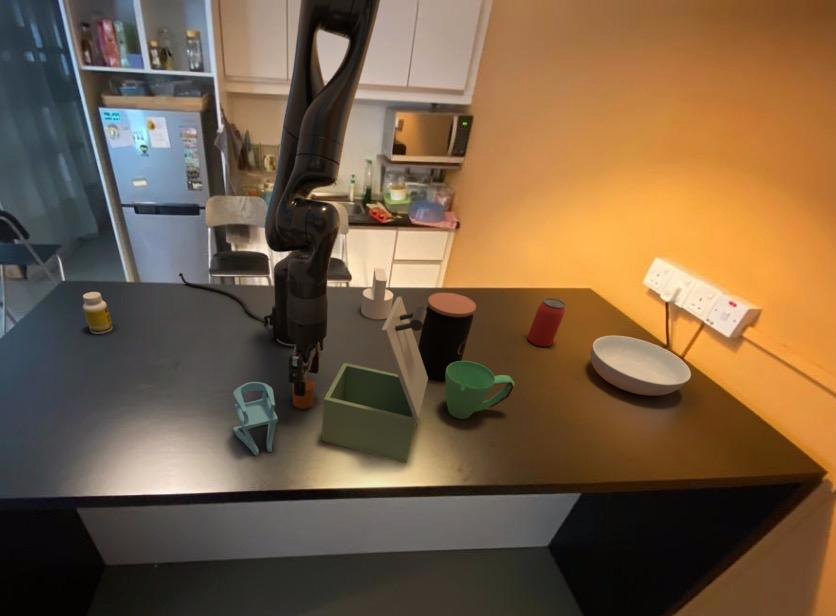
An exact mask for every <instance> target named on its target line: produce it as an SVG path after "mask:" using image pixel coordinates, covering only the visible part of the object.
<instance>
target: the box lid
mask: <svg viewBox="0 0 836 616" xmlns="http://www.w3.org/2000/svg"><path fill="white" fill-rule="evenodd" d="M426 309H427V308H426V307H424V306H417V307H416V308H415V309H414V311H413V312H408V313H407V310H406V307H405V304H404V301H403V297H402V296H397V297H396V299H395V301H394V303H393V304H392V307H391V311H390V313H389V316H388V318H386V320H385V322H384V324H383V326H382V328H381V333H382V335H383V338H384V340H385V344H386V346H387V350H388V352H389V354H390V358H391V360H392V364H393V365H394V366H393V367H394V368H395V371H396V374H398V376H399V379H400V382H401V385H402V387H403V390H404V393H405V395H406V398H407V401H408V404H409V406H410V409H411V412H412V414H413V417H414V419H417V420H418V419H419V417H420V414H421V410H422V406H423V402H424V398H425V393H426V389H427V386H428V381H429V377H428V376H427V373H426V370H425V367H424V364H423V361H422V358H421V355H420V352H419V349H418V346H419V345H418V343H417V341H416V340H417V339H416V337H415V334H414V332H413V331H415V332H418V331H422V327H423V323H424V320H425V317H426V314H427V311H426ZM410 319H411V320H410Z"/></svg>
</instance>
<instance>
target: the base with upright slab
mask: <svg viewBox="0 0 836 616" xmlns="http://www.w3.org/2000/svg"><path fill="white" fill-rule="evenodd" d="M372 277H373V278H372V286H371V287H368V288H365V289H364V290H363V291H362V295H361V296H362V297H361V306H360V313H361V314H362V315H363V316H364V317H365V318H368V319H371V320H385V319H387V318H388V316H389V313H390V311H391V309H392V307H393V299H394V293H393V292H392V291H390V290H389V289H387V283H388V279H387V274H386V270H385V268H381V267H379V268H378V267H377V268H374V269H373V276H372Z"/></svg>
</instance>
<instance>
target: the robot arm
mask: <svg viewBox="0 0 836 616" xmlns="http://www.w3.org/2000/svg"><path fill="white" fill-rule="evenodd" d="M380 3H381V0H300V4H299V5H300V6H299V15H298V22H297V31H296V32H297V33H296V41H295V49H294V50H295V52H294V61H293V68H292V74H291V80H290V87H289V91H288V97H287V103H286V107H285V113H284V119H283V123H282V130H281V131H282V132H281V137H280V145H279V154H278V161H277V167H276V172H275V178H274V182H273V187H272V191H271V195H270V199H269V201H268V206H267V210H266V215H265V219H264V237H265V241H266V244H267V247H269V249H270V250H271V251H273V252H276V253H287V252H290V253H289V254H288V255H286V256H285V257H283V258H282V259H281V260H278V261H277V263H275V264H274V267H273V284H274V287H273V288H274V305H273V306H272V307H271V313H270V314H267V315H265V316H264V317H263V319H262V318H260V317H259V316H257V315H255V314H254V313H252V312H251V311H250V310H249V308H248V307H247V305H246V303H245V302H244V301H243V300H241V299H240V297H238V296H236V295H234V294H233V293H230V292H228V291H226V290H223V289H221V288H217V287H216V288H215V287H211V286H208V285H203V284H196V283H191V282H188V281H187V280H186V278H185V277H184V273H183V272H179V274H178V277H180V279H181V281H182V282H183V283H184V284H185V285H187V286H189V287H193V288H194V287H195V288H200V289H205V290H210V291H213V292H217V293H221V294H224V295H226V296H229V297H232V298H234V299H235V300H236V301H237V302H238V303H240V304H241V305H242V308H243V309H244V311H245V313H246V314H248V315H249V316H251V317H252V318H253V319H255V320H256V321H259V322H261V323H263V324H266V325H267V324H269V326H272V340H273V341H275V342H276V343H278V344H280V345H281V346H283V347H287V348H294V349H293V353H294V354H290V355H289V356H288V383H290V384H293V383H294V394H295V395H297V396H302V397H303V396H304V395H305V394H306V378H307V376H308V373H310V374H318V373H319V371H320V358H321V356H322V354H321V352H323V350H324V339H325V338H326V337H327V335H328V334H327V333H328V332H327V331H328V311H329V310H328V308H329V307H328V306H329V301H328V273H329V267H330V262H331V259H332V255H333V250H334V248H335V245H336V243H337V239H338V236H339V234H340V229H341V217H340V212H339V211H338V209H337V207H336V206H335V205H334V204H333V203H331V202H327V201H323V200H322V201H321V200H314V199H309V196H310V195H311V193H312V192H313V191H314V190H316V189H319V188H326V187H327V188H328V187H331V186H333V185H335V183H336V182H337V180H338V177H339V171H340V166H341V160H342V154H343V149H344V144H345V143H344V142H345V137H346V132H347V127H348V123H349V119H350V115H351V112H352V108H353V104H354V101H355V97H356V93H357V91H358V87H359V84H360V81H361V77H362V74H363V70H364V66H365V62H366V59H367V55H368V51H369V47H370V43H371V40H372V36H373V32H374V29H375V26H376V21H377V18H378V17H377V16H378V12H379V8H380ZM319 31H322V32H325V33H328V34H330V35H334V36H337V37H341V38H344V39H346V40H348V43H347V47H346V51H345V54H344V56H343V58H342V60H341V62H340V64H339V66H338V67H337V69H336V70H335V72H334V74H333V75H332V77H331V78H330V79H329V81H328V82H327V83H326V84H325V81H324V77H323V73H322V68H321V62H320V57H319V56H320V55H319V48H318V33H319ZM304 364H306V365H304Z"/></svg>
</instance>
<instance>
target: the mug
mask: <svg viewBox="0 0 836 616" xmlns="http://www.w3.org/2000/svg"><path fill="white" fill-rule="evenodd" d="M444 382H445V384H444V385H445V387H444V389H445V390H444V393H445V401H446V406H447V412H448V413H449V414H450V415H451V416H452V417H454V418H455V419H459V420H460V419H461V420H463V419H465V420H466V419H468V418H470V416H471V415H472V414H474V413H477V412H480V411H483V410H487V409H491V408H493V407H496V406H497V405H498V404H500V403H501V402H503V401H505V400H506V399H507V398H509V397H510V395H511V393H512V391H513V389H514V387H515V381H514V380H513V378H512V377H511V376H510V375H508V374H500V375H495V374H494V373H493V372H492V371H491V369H490V368H488V367H486V366H484V365H482V364H480V363H477V362H475V361H474V362H473V361H471V360H469V361H468V360H461V361H457V362H453V363H451V364H450V365H448V366H447V369H446V372H445V380H444ZM503 384H505V386H504V388H502V389H501V390H500V391H499V392H497V393H495V394H494V395H493V396H491V397H490V398H488V399H486V398H487V396H488V395H489V393H490V392H491V390H492V389H493V387H494V386H497V385H503Z"/></svg>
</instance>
